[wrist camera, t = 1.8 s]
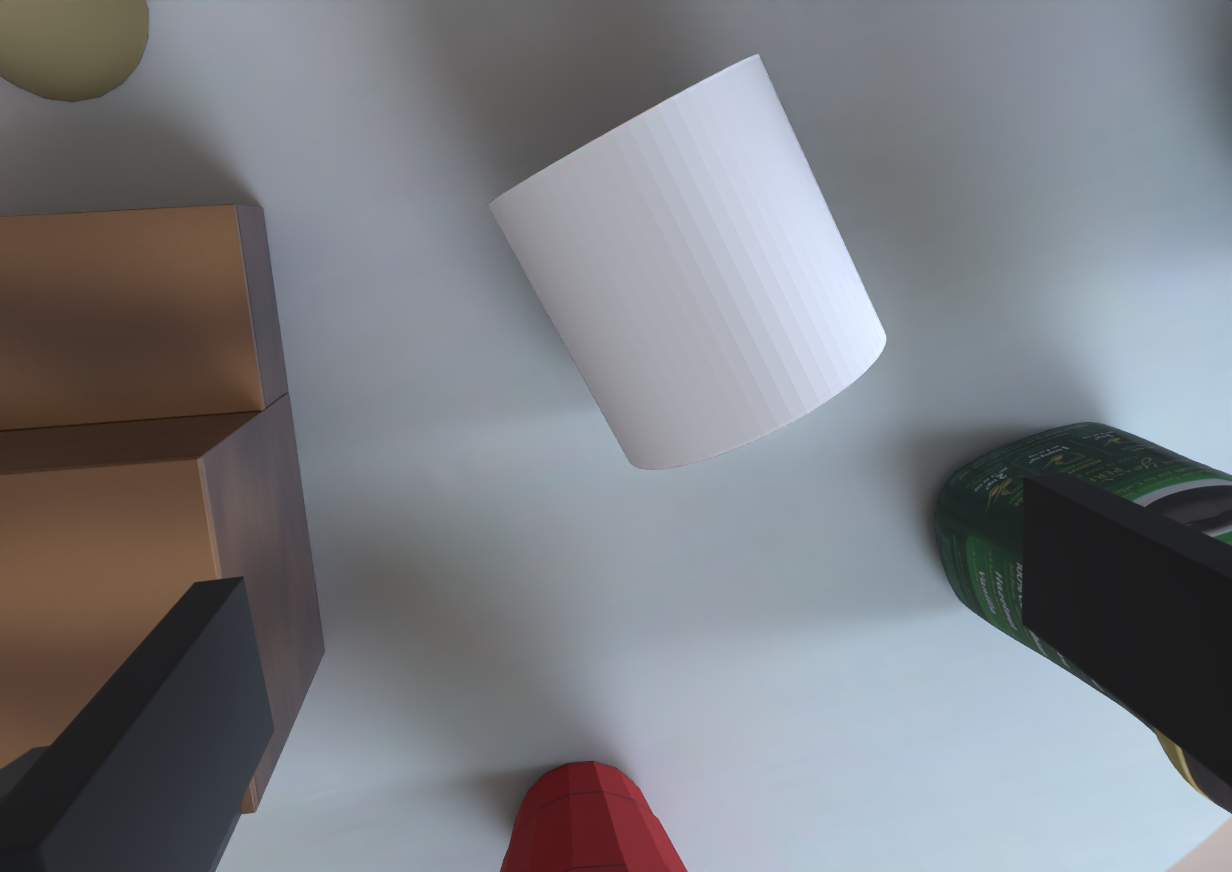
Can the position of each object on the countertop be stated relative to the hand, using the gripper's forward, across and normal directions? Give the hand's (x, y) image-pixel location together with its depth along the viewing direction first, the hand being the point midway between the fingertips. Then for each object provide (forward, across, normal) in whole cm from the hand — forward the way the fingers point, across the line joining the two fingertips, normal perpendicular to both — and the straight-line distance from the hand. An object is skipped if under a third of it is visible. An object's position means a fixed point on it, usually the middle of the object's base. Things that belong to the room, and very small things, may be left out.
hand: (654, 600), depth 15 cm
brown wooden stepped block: (+22, -17, -1) cm, 28 cm away
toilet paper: (+23, +4, +4) cm, 23 cm away
